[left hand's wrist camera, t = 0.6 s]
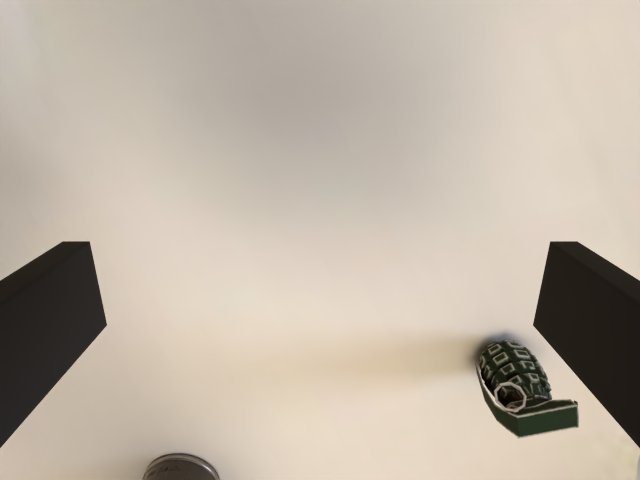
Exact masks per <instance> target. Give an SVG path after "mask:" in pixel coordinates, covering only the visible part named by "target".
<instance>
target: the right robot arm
mask: <svg viewBox="0 0 640 480" xmlns="http://www.w3.org/2000/svg"><path fill="white" fill-rule="evenodd" d="M143 480H219V477H218V475H217V473H216V472H215V470H214V469H213V468H212V467H211V466H210V465H208V464H207V463H206V462H204V461H202V460H200V459H198V458H195V457H192V456H188V455H179V454H177V455H168V456H164V457H161V458H159V459H157V460H155V461H154V462H153V463H152V464H150V466H149V467H148V468H147V470H146V472H145V475H144V477H143Z"/></svg>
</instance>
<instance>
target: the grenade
mask: <svg viewBox="0 0 640 480" xmlns="http://www.w3.org/2000/svg"><path fill="white" fill-rule="evenodd" d="M479 361H480V364H479V365H480V369H481V376H482V379H483V380H484V382H485V383H484V384H485V385H486V387H487V388H488V390H489V391H490V392H491V394H492V395H493V396H494V397H495V401H496V402H497V403H498V404H499V405H500V406H501V407H502V408H503V409H504V410H503V409H502V408H500V407H499V406H497V405H495V403H494V402H493V400H492V399H491V397H490V395H489V394H488V392H487V391H486V389H485V387H484V386H483V383H482V380H481V377H480V374H479V371H478V368H477V365H476V370H477V375H478V379H479V382H480V385H481V389H482V392H483V396H484V399H485V402H486V403H487V405H488V407H489V408H490V410H491V412H492V413H493V415H494V417H495V418H496V420H497V421H498V422H499V423H500V424H501V425H502V426H504V427H505V428H506V429H507V430H508V431H510V432H511V433H513V434H514V435H516V436H517V438H525V437H530V436H535V435H541V434H546V433H551V432H556V431H562V430H567V429H572V428H577V427H579V416H578V402H576V401H574V402H573V401H572V400H570V399H569V400H552V396H551V393H550V391H551V387H550V384H549V383H548V381H547V380H548V378H547V376H546V373H545V372H544V371H543V368H542V366H541V365H540V363H539V362H538V360H537V359H536V357H535V356H534V355H533V354H532V353H531V351H529V350H528V349H527V348H526V347H522V346H521V345H520V344H518V343H515V342H514V341H512V340H503V341H501V342H498V343H497V342H494V343H492V344H490V345H489V346H487V349H486V350H485V351H483V352H482V353H481V356H480V359H479ZM475 364H476V362H475Z"/></svg>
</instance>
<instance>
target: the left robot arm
mask: <svg viewBox="0 0 640 480" xmlns="http://www.w3.org/2000/svg"><path fill="white" fill-rule="evenodd" d="M106 326H107V323H106V319H105V314H104V309H103V304H102V299H101V294H100V289H99V285H98V280H97V275H96V270H95V265H94V260H93V255H92V251H91V246H90V242H61V243H60V244H58V245H57V246H55V247H53V248H52V249H50V250H49V251H47V252H45V253H44V254H42V255H41V256H39V257H37V258H36V259H34V260H33V261H31V262H29V263H28V264H26V265H25V266H23V267H22V268H20V269H18V270H17V271H15V272H14V273H12V274H10V275H9V276H7V277H6V278H4V279H2V280H1V281H0V448H1V447H2V445H3V444H4V443H5V442H6V441H7V440H8V438H9V437H10V436H11V435H12V434H13V433H14V432H15V430H16V429H17V428H18V427H19V426H20V425H21V423H22V422H23V421H24V420H25V419H26V418H27V417H28V415H29V414H30V413H31V412H32V411H33V410H34V409H35V407H36V406H37V405H38V404H39V403H40V402H41V400H42V399H43V398H44V397H45V396H46V395H47V394H48V392H49V391H50V390H51V389H52V388H53V387H54V385H55V384H56V383H57V382H58V381H59V380H60V379H61V377H62V376H63V375H64V374H65V373H66V372H67V371H68V369H69V368H70V367H71V366H72V365H73V364H74V362H75V361H76V360H77V359H78V358H79V357H80V356H81V354H82V353H83V352H84V351H85V350H86V349H87V348H88V346H89V345H90V344H91V343H92V342H93V341H94V339H95V338H96V337H97V336H98V335H99V334H100V333H101V331H102V330H103V329H104V328H105V327H106ZM533 326H534V327H535V328H536V329H537V330H538V331H539V333H540V334H541V335H542V336H543V337H544V338H545V339H546V341H547V342H548V343H549V344H550V345H551V346H552V348H553V349H554V350H555V351H556V352H557V353H558V354H559V356H560V357H561V358H562V359H563V360H564V361H565V362H566V364H567V365H568V366H569V367H570V368H571V369H572V371H573V372H574V373H575V374H576V375H577V376H578V377H579V379H580V380H581V381H582V382H583V383H584V384H585V385H586V387H587V388H588V389H589V390H590V391H591V392H592V394H593V395H594V396H595V397H596V398H597V399H598V400H599V402H600V403H601V404H602V405H603V406H604V407H605V409H606V410H607V411H608V412H609V413H610V414H611V415H612V417H613V418H614V419H615V420H616V421H617V422H618V423H619V425H620V426H621V427H622V428H623V429H624V430H625V432H626V433H627V434H628V435H629V436H630V437H631V438H632V440H633V441H634V442H635V443H636V444H637V445H638V447H639V448H640V281H639V280H638V279H636V278H634V277H633V276H631V275H630V274H628V273H626V272H625V271H623V270H622V269H620V268H618V267H617V266H615V265H614V264H612V263H611V262H609V261H607V260H606V259H604V258H603V257H601V256H599V255H598V254H596V253H595V252H593V251H591V250H590V249H588V248H587V247H585V246H583V245H582V244H580V243H579V242H550V246H549V251H548V255H547V260H546V265H545V270H544V275H543V280H542V285H541V289H540V294H539V299H538V304H537V309H536V314H535V319H534V323H533Z"/></svg>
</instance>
